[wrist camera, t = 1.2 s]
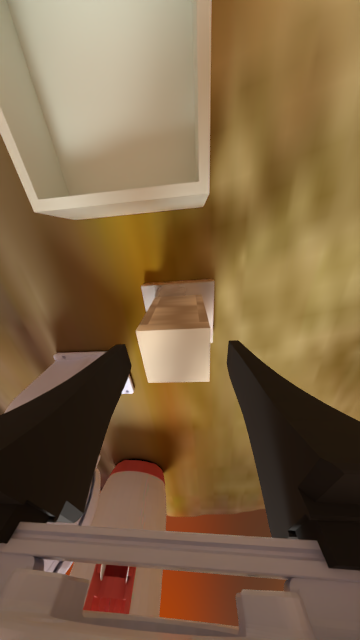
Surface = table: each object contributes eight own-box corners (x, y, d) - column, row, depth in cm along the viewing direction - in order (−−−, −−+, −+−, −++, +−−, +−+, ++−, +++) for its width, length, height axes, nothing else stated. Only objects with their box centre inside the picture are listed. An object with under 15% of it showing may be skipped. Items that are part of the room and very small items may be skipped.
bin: (75, 220, 13) (34, 212, 10) (-7, -28, 8) (-158, -235, 5) (203, 207, 12) (209, 193, 9) (201, -77, 7) (215, -380, 4)
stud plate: (154, 338, 19) (141, 378, 13) (144, 283, 16) (120, 305, 10) (211, 336, 18) (221, 377, 13) (212, 278, 15) (226, 299, 10)
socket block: (161, 335, 17) (148, 382, 11) (155, 297, 15) (135, 331, 9) (201, 334, 17) (209, 381, 11) (201, 294, 15) (210, 328, 9)
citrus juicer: (176, 454, 33) (163, 702, 15) (167, 483, 41) (152, 668, 23) (104, 445, 32) (5, 690, 15) (110, 477, 41) (50, 659, 23)
